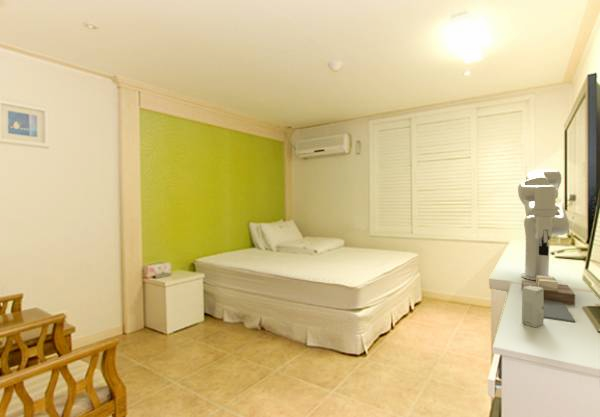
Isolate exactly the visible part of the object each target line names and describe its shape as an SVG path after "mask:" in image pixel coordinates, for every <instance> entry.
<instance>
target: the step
mask: <svg viewBox="0 0 600 417" xmlns="http://www.w3.org/2000/svg"><path fill="white" fill-rule="evenodd" d="M530 285H531V286H536V287H538V286H537V284H536V281H534V280H524V279H523V280H521V288H520V289H521V290H522V288H524V287H526V286H530ZM575 297H576V294H575V293H574V292H573V290H572V289H571V288H570V286H569V285H568V284H560V283H558V291H550V290H544V300H548V301H556V302H563V303H564V304H565V305H574V306H575V302H576V298H575Z"/></svg>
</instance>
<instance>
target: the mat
mask: <svg viewBox="0 0 600 417" xmlns="http://www.w3.org/2000/svg"><path fill="white" fill-rule="evenodd" d="M543 319H550V320H557V321H562V322H563V321H565V322H571V323H576V320H575V318H574V317H573V315H572V314H571V312H570V310H569V308H568V307H567V306H566V304H564V303H563V302H556V301H548V300H544V318H543Z"/></svg>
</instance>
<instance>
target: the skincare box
mask: <svg viewBox="0 0 600 417" xmlns="http://www.w3.org/2000/svg"><path fill="white" fill-rule="evenodd" d="M521 292H522V293H521V295H522V297H521V303H522V304H521V323H522V324H524V325H525V326H526V325H527V326H529V327H533V328H537V327H540V326H542V325H543V324H544V319H545V318H544V288H541V287H536V286H531V285H530V286H526V287H524V288H522V289H521Z"/></svg>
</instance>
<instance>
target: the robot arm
mask: <svg viewBox="0 0 600 417" xmlns="http://www.w3.org/2000/svg"><path fill="white" fill-rule="evenodd" d="M561 184H562V174H561V172H560V171H559V170H557V169H534V170H532V171H530V172H528V173H527V174H526V176H525V180H524V181H521V182H520V183H519V184H518V186H517V194H518V197H519V200H520V201H521V203H522V204H523V206H524V211H525V216H526V217H525V218H524V220H523V226H524V235H525V260H524V262H525V263H524V272H523V273H521V275H520V276H521V277H522V278H523V279H525V278H526V280H529V279H530V280H529V281H535V280H536V275H539V276H549V277H552V276H551V275H549V274H550V273H549V272H550V271H549V269H550V243H549V241H550V240H552V236H564V235H566V234H568V233H569V230H570V223H569V222H570V221H569V219H568V216H567V213H566V210H565V207H564V206H563V205H562V204H560V203H559V204H558V203H556V200H557V199H558V197H559V187H560V185H561Z"/></svg>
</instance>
